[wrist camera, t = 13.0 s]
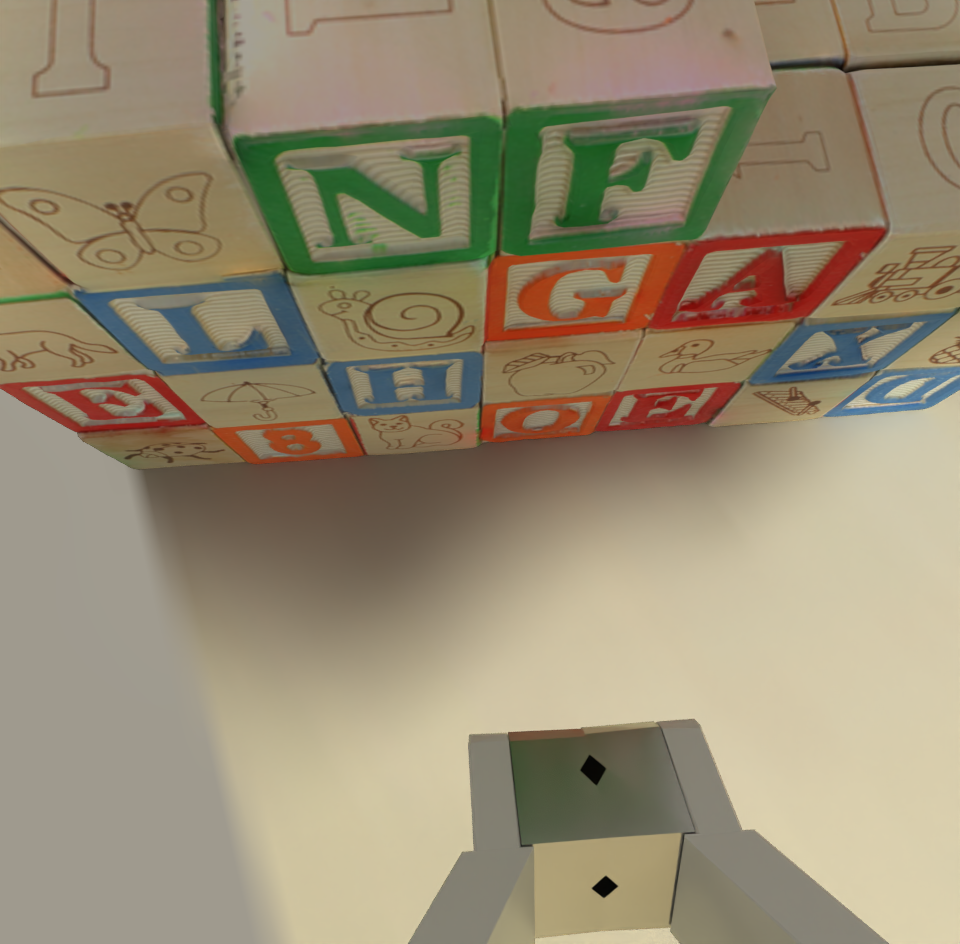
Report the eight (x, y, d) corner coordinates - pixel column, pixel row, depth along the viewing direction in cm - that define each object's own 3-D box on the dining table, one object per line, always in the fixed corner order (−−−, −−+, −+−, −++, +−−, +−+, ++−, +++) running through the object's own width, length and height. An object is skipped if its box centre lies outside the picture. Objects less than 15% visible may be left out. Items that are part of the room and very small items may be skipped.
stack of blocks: (877, 211, 22) (1355, -332, 10) (929, 414, 20) (1570, 47, 9) (134, 262, 21) (-290, -267, 9) (125, 477, 20) (-399, 168, 8)
